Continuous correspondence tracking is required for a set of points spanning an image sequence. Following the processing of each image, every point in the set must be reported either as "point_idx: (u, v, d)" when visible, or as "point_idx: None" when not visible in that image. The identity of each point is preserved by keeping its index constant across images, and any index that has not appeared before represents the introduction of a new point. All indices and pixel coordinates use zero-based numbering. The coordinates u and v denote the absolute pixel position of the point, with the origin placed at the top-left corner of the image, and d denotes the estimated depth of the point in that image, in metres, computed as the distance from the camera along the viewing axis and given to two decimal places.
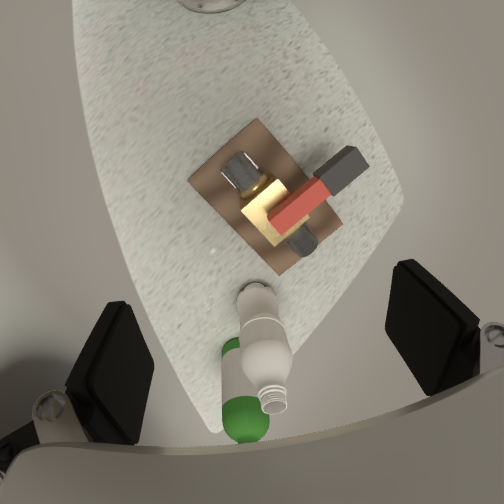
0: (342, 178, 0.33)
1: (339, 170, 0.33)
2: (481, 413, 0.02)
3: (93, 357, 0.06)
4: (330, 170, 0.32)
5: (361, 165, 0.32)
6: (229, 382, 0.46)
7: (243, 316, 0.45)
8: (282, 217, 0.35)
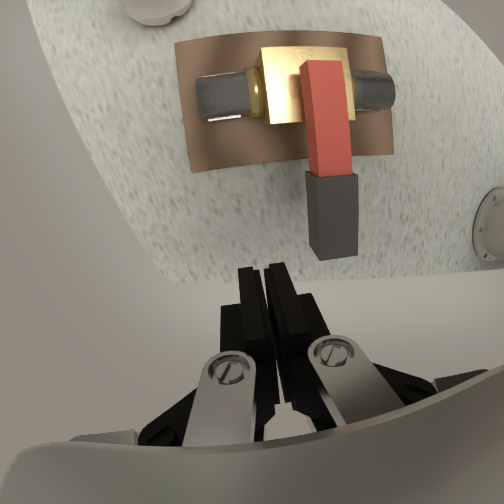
0: (333, 208, 0.19)
1: (345, 211, 0.19)
2: (481, 413, 0.02)
3: (260, 312, 0.07)
4: (355, 197, 0.19)
5: (330, 249, 0.20)
6: None
7: None
8: (335, 81, 0.16)
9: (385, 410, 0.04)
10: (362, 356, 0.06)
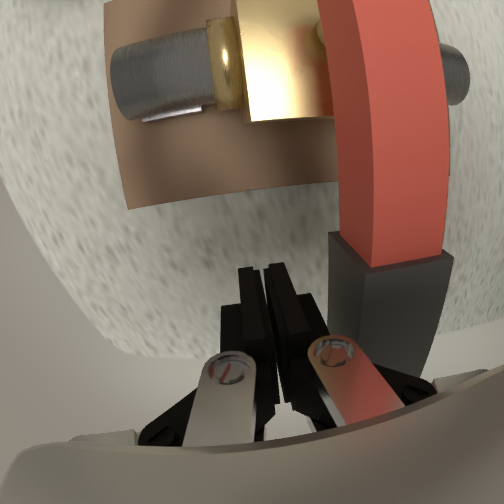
0: (390, 333, 0.08)
1: (414, 334, 0.08)
2: (481, 413, 0.02)
3: (260, 312, 0.07)
4: (439, 304, 0.07)
5: None
6: None
7: None
8: (414, 20, 0.04)
9: (385, 410, 0.04)
10: (362, 356, 0.06)
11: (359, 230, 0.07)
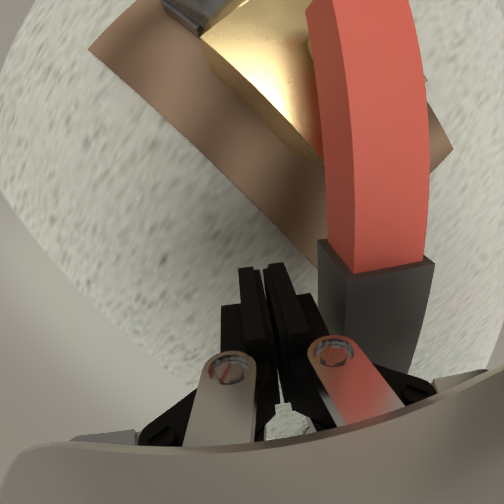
0: (374, 335, 0.08)
1: (397, 335, 0.08)
2: (481, 413, 0.02)
3: (261, 312, 0.07)
4: (421, 308, 0.08)
5: None
6: None
7: None
8: (398, 37, 0.05)
9: (384, 410, 0.04)
10: (361, 356, 0.06)
11: (343, 239, 0.08)
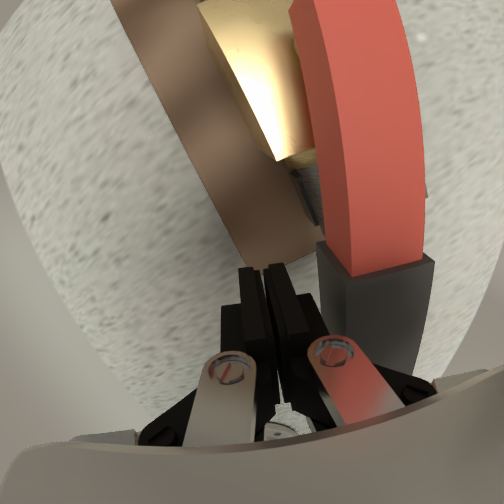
0: (376, 335, 0.08)
1: (400, 334, 0.08)
2: (481, 413, 0.02)
3: (261, 312, 0.07)
4: (423, 306, 0.08)
5: None
6: None
7: None
8: (384, 32, 0.05)
9: (384, 410, 0.04)
10: (361, 356, 0.06)
11: (340, 242, 0.08)
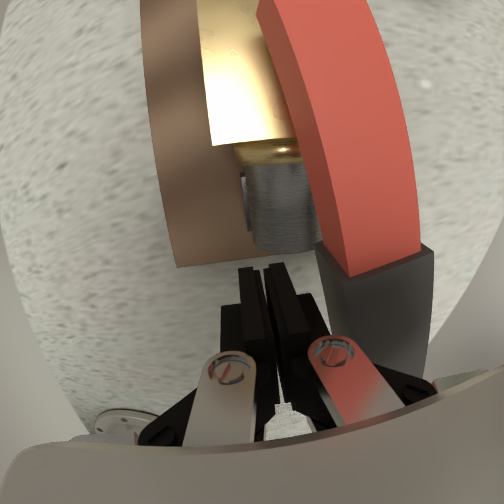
0: (382, 332, 0.08)
1: (407, 328, 0.08)
2: (481, 413, 0.02)
3: (260, 312, 0.07)
4: (428, 297, 0.08)
5: None
6: None
7: None
8: (352, 23, 0.05)
9: (385, 410, 0.04)
10: (362, 356, 0.06)
11: (335, 243, 0.08)
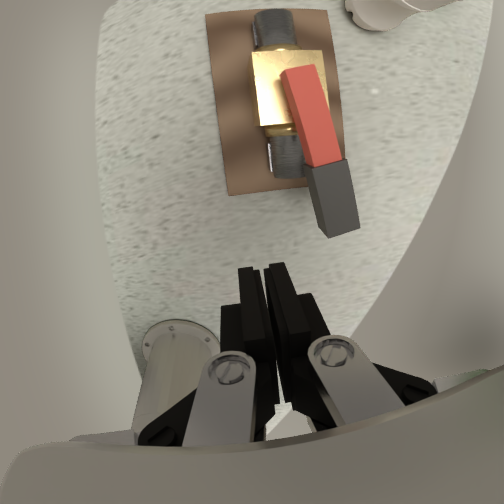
0: (331, 191, 0.22)
1: (342, 192, 0.22)
2: (481, 413, 0.02)
3: (260, 312, 0.07)
4: (349, 178, 0.22)
5: (335, 226, 0.23)
6: None
7: (409, 14, 0.19)
8: (312, 83, 0.19)
9: (385, 410, 0.04)
10: (362, 356, 0.06)
11: (309, 157, 0.22)
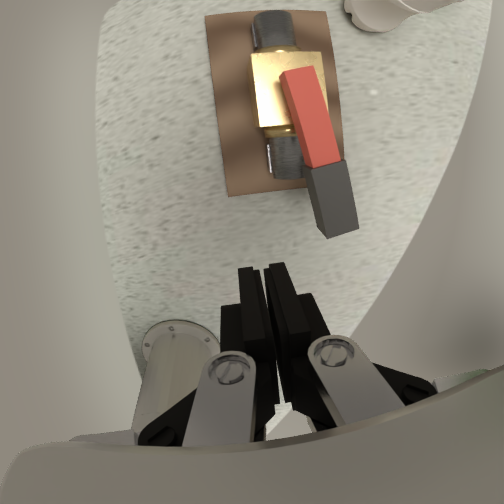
0: (329, 192, 0.22)
1: (341, 193, 0.22)
2: (481, 413, 0.02)
3: (260, 312, 0.07)
4: (347, 179, 0.22)
5: (334, 227, 0.24)
6: None
7: (407, 15, 0.19)
8: (311, 85, 0.19)
9: (385, 410, 0.04)
10: (362, 356, 0.06)
11: (308, 158, 0.22)
